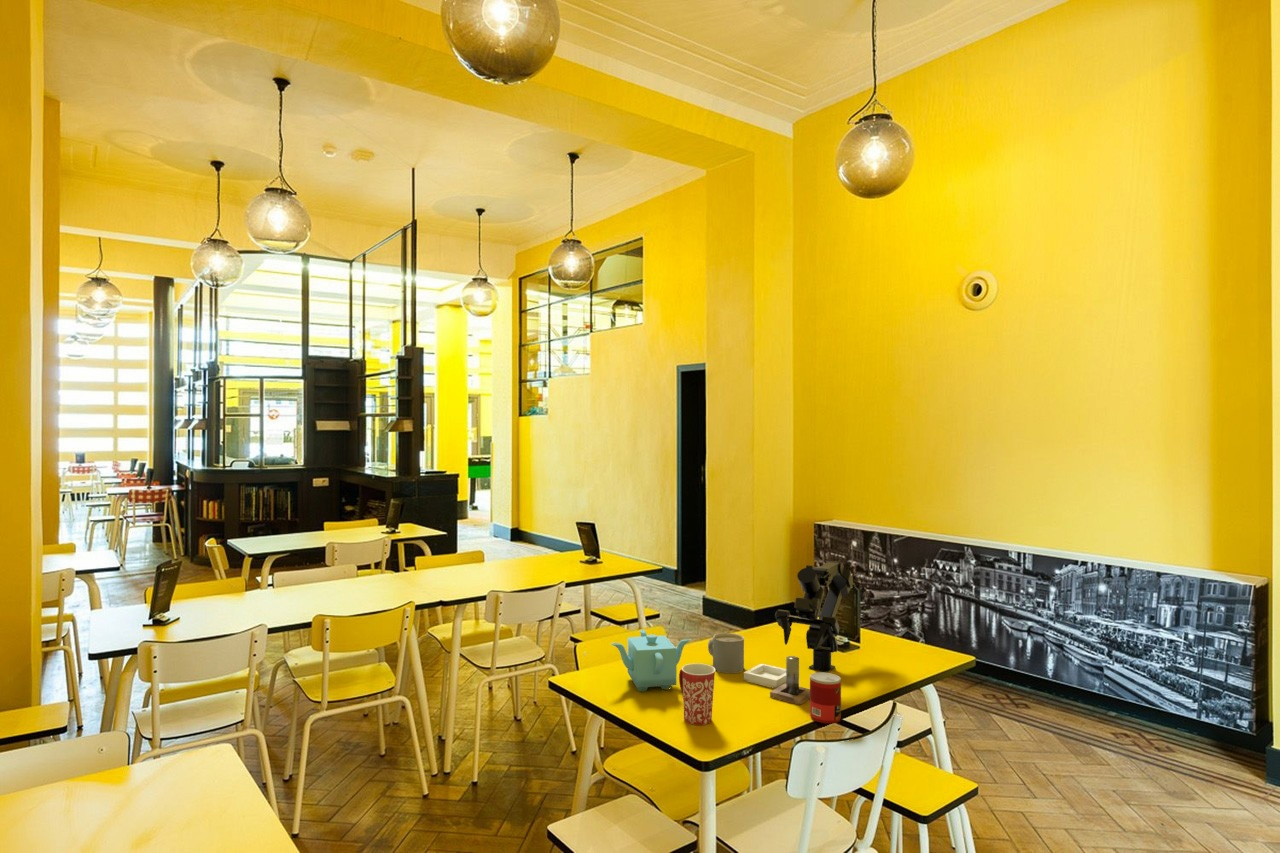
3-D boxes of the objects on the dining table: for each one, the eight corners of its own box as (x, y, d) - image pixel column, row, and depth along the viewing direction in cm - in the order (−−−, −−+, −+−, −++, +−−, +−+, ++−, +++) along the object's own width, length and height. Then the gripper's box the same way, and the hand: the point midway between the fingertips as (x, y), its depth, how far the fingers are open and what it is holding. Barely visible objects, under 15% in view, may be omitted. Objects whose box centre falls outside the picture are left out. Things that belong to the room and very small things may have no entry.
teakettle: (662, 700, 198) (662, 648, 198) (607, 687, 208) (608, 637, 208) (693, 681, 214) (693, 633, 214) (641, 669, 224) (641, 623, 224)
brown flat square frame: (785, 688, 208) (785, 683, 208) (814, 695, 202) (814, 690, 203) (770, 697, 201) (770, 691, 201) (800, 705, 195) (800, 699, 195)
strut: (789, 693, 204) (789, 655, 204) (801, 696, 202) (801, 657, 202) (783, 696, 202) (784, 658, 202) (795, 699, 199) (795, 660, 199)
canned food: (842, 725, 181) (842, 682, 182) (810, 722, 183) (810, 680, 183) (839, 714, 189) (839, 673, 189) (809, 711, 191) (809, 671, 191)
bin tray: (761, 671, 223) (761, 663, 223) (793, 679, 216) (793, 670, 216) (743, 680, 215) (743, 672, 215) (776, 688, 208) (776, 680, 208)
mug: (722, 723, 182) (722, 671, 183) (692, 729, 178) (693, 676, 178) (696, 706, 193) (696, 657, 194) (667, 712, 189) (668, 662, 190)
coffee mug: (750, 670, 224) (750, 639, 225) (725, 675, 219) (725, 643, 220) (725, 658, 236) (725, 629, 236) (700, 663, 231) (701, 632, 231)
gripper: (776, 583, 218) (763, 626, 208) (836, 590, 208) (826, 636, 199) (785, 603, 224) (772, 647, 215) (843, 611, 215) (833, 657, 205)
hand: (800, 646), depth 208 cm, fingers open, 9 cm apart
